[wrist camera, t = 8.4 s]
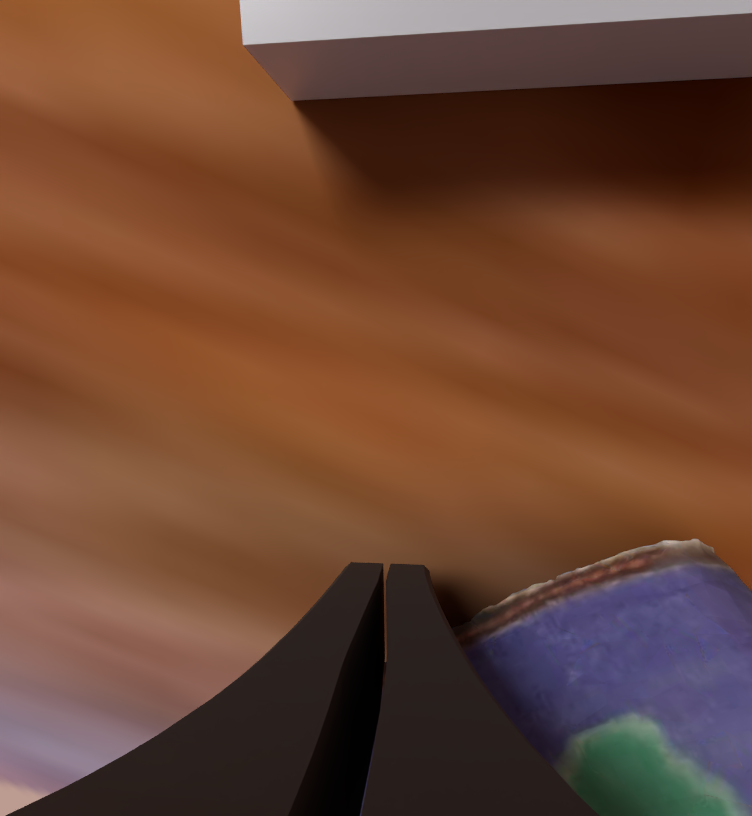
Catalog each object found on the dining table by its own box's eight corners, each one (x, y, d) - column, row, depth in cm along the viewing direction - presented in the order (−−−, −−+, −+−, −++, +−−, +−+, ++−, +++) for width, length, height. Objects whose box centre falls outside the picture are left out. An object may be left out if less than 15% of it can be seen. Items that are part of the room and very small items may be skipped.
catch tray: (967, 969, 13) (1093, 1134, 10) (335, 907, 14) (315, 1038, 12) (1339, -34, 8) (1760, -170, 5) (287, 34, 9) (236, -48, 7)
